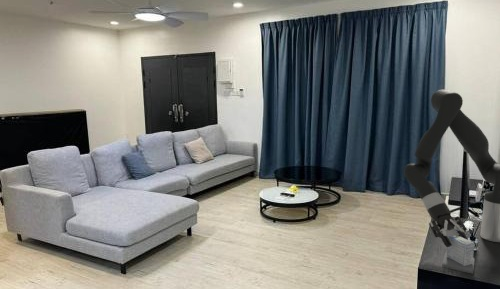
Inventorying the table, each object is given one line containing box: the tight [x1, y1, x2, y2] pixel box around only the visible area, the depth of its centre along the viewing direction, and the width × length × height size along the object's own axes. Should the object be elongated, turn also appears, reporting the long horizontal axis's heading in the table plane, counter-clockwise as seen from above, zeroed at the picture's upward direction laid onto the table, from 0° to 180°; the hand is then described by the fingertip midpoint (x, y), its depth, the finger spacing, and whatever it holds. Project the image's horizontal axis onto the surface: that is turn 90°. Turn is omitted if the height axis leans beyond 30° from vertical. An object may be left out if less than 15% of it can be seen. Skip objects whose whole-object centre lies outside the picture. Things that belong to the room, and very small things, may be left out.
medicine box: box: [446, 234, 475, 266], centre depth 137 cm, size 8×4×9 cm, turn 19°
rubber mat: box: [441, 251, 476, 275], centre depth 138 cm, size 12×10×1 cm
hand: (458, 244), depth 138 cm, fingers open, 8 cm apart
